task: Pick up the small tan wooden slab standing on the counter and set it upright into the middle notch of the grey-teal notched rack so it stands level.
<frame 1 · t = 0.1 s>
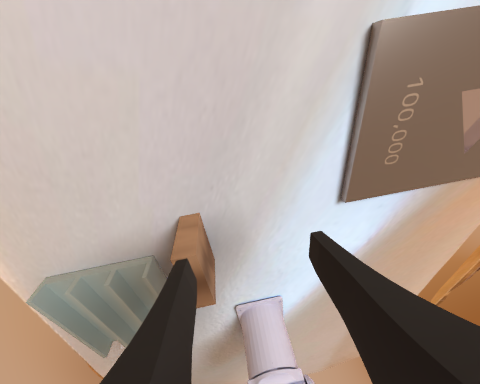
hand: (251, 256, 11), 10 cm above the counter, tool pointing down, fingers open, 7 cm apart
tan wooden slab: (198, 239, 23), on the counter
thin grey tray: (439, 113, 20), on the counter
notched rack: (129, 301, 27), on the counter
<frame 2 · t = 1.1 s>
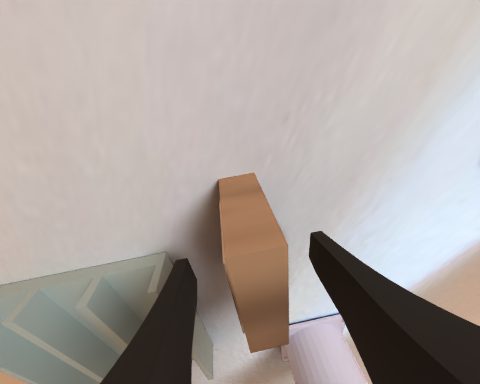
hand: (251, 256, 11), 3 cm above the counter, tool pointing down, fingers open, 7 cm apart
tan wooden slab: (244, 224, 14), on the counter
notched rack: (126, 323, 18), on the counter
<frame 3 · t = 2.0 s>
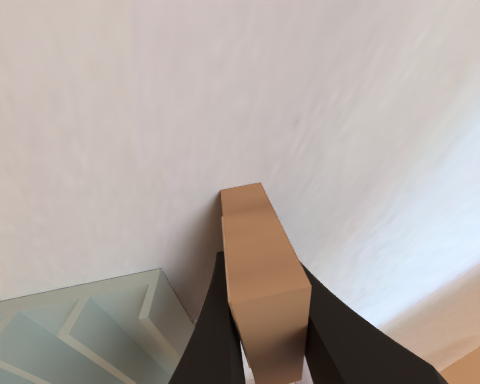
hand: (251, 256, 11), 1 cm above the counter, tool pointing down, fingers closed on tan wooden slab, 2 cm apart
tan wooden slab: (249, 238, 12), on the counter, touching gripper
notched rack: (119, 341, 16), on the counter
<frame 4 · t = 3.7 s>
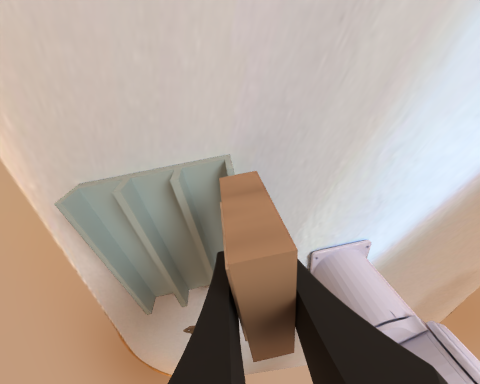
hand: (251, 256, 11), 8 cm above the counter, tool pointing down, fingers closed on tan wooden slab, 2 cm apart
tan wooden slab: (246, 226, 13), point 6 cm above the counter, touching gripper
meat cleaver: (206, 334, 33), on the counter
notched rack: (184, 235, 20), on the counter
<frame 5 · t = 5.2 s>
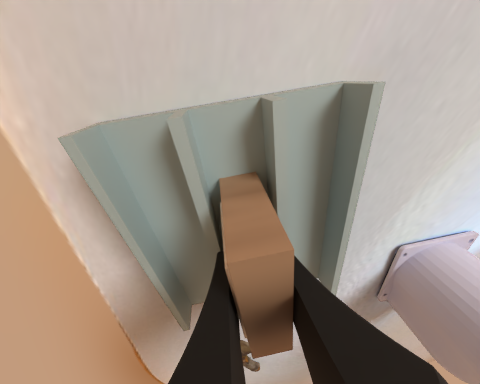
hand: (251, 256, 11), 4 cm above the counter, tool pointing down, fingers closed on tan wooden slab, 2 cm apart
tan wooden slab: (245, 225, 13), point 1 cm above the counter, touching gripper, notched rack
meat cleaver: (239, 348, 27), on the counter
notched rack: (243, 218, 14), on the counter
when the fingers open (4 cm above the counter, at t = 5.8 s): tan wooden slab stays where it is, resting on notched rack.
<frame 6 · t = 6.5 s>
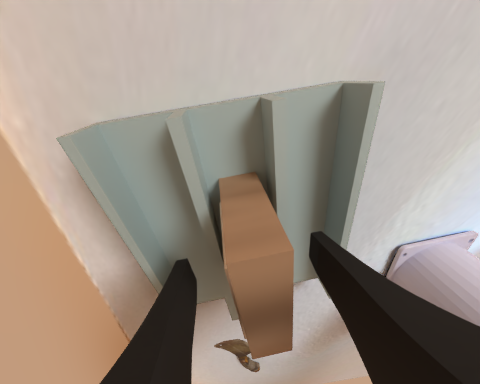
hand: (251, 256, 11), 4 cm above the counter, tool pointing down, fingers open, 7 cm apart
tan wooden slab: (245, 225, 13), point 1 cm above the counter, touching notched rack
meat cleaver: (239, 349, 27), on the counter
notched rack: (242, 218, 14), on the counter
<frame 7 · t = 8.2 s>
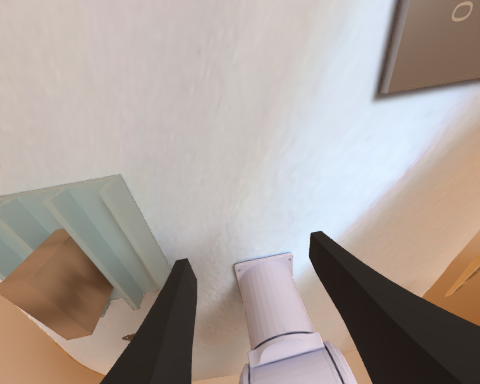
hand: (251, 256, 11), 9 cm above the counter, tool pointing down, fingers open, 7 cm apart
tan wooden slab: (90, 255, 20), point 1 cm above the counter, touching notched rack
notched rack: (95, 248, 21), on the counter
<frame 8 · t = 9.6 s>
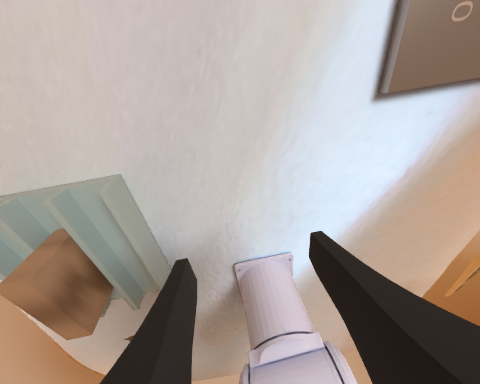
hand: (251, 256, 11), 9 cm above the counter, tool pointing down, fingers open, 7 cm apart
tan wooden slab: (90, 255, 20), point 1 cm above the counter, touching notched rack
notched rack: (95, 248, 21), on the counter
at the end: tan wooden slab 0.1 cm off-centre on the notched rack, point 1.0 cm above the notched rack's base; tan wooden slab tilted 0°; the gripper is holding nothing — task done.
